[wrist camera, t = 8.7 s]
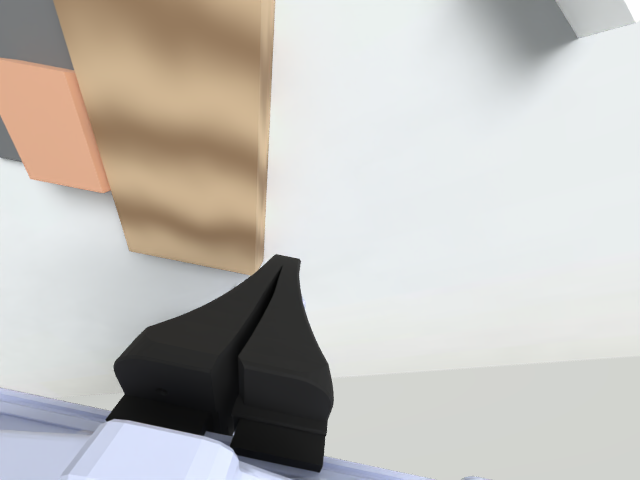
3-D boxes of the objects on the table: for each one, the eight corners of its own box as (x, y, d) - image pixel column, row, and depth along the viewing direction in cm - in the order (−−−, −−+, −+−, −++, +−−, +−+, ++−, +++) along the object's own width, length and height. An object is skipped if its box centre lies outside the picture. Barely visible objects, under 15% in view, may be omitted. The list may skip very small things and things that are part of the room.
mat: (131, 180, 22) (127, 182, 21) (3, 155, 22) (-4, 156, 21) (74, -47, 14) (65, -52, 14) (-117, -82, 15) (-132, -87, 14)
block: (128, 183, 21) (103, 193, 19) (62, 170, 21) (30, 178, 19) (100, 75, 17) (63, 71, 15) (18, 59, 17) (-29, 54, 15)
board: (263, 260, 24) (254, 276, 22) (148, 237, 25) (129, 251, 22) (275, -11, 14) (262, -31, 12) (79, -47, 14) (31, -72, 12)
